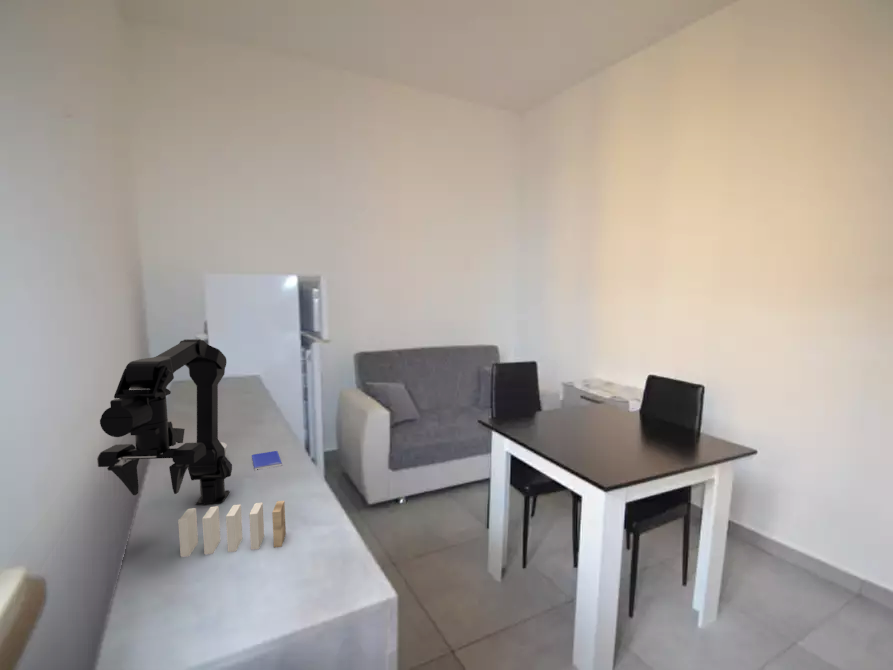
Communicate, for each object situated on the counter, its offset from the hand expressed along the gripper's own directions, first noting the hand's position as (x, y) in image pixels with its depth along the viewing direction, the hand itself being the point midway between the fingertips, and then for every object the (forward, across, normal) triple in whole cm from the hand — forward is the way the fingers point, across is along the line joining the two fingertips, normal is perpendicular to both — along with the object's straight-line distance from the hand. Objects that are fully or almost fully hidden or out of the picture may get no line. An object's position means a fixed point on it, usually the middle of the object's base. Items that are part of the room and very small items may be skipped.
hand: (156, 493), depth 91 cm
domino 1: (+13, -6, -1) cm, 14 cm away
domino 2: (+13, -10, -1) cm, 17 cm away
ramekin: (+13, +13, -50) cm, 53 cm away
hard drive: (+14, -5, -50) cm, 52 cm away
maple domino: (+13, -24, -3) cm, 27 cm away
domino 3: (+13, -15, -2) cm, 20 cm away
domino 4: (+13, -19, -2) cm, 23 cm away
